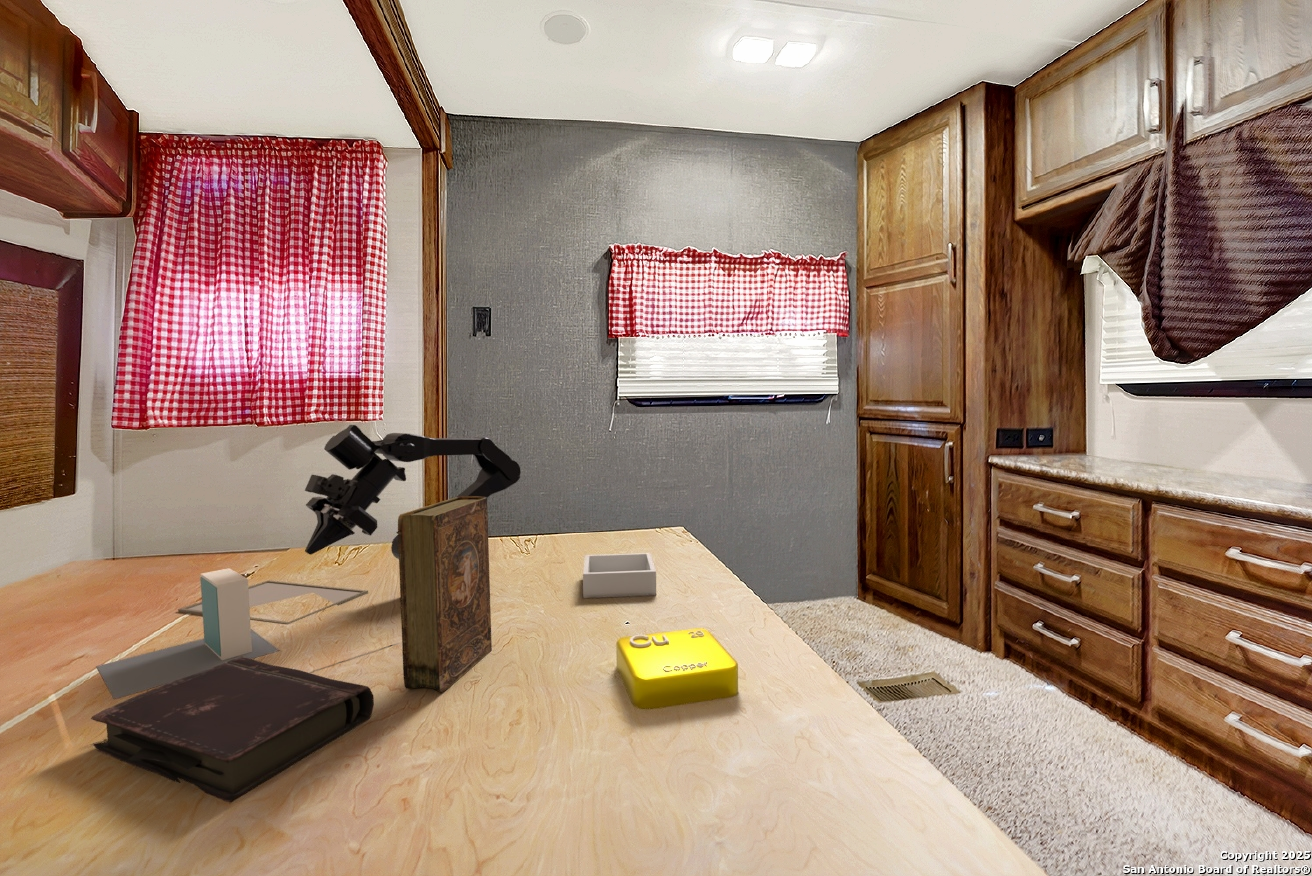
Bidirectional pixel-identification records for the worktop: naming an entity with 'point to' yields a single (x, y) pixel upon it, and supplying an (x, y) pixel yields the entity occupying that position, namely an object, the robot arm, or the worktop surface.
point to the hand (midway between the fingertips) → (307, 553)
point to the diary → (232, 724)
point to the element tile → (675, 668)
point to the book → (444, 591)
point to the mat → (169, 665)
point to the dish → (619, 575)
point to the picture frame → (287, 596)
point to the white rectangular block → (226, 613)
